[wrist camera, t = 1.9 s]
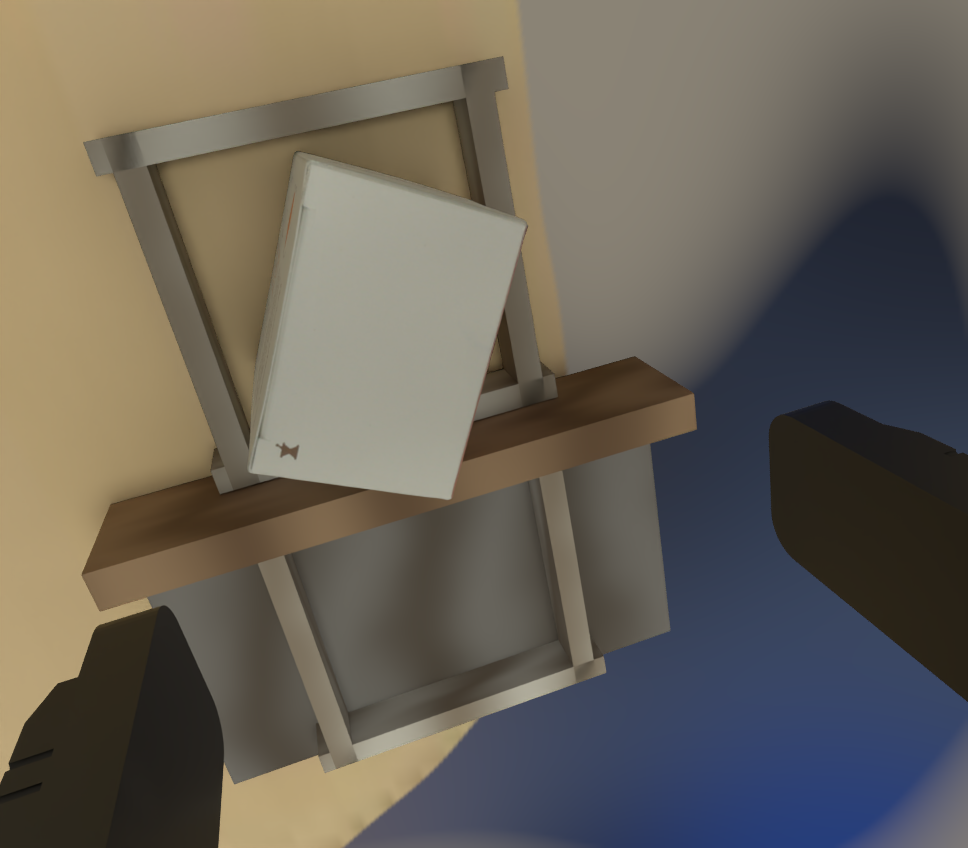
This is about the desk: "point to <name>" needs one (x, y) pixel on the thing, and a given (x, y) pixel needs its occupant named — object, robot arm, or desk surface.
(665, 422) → the door edge frame
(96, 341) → the desk surface
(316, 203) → the small box
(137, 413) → the desk surface
